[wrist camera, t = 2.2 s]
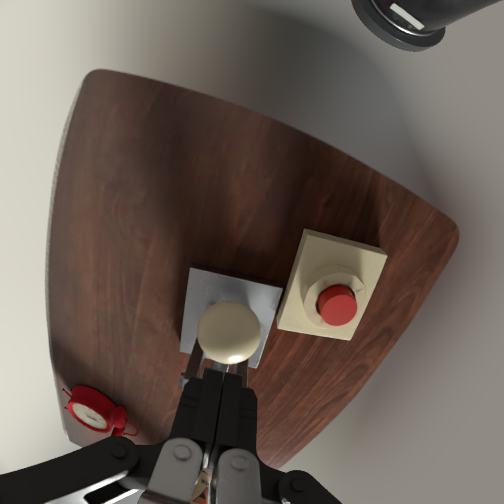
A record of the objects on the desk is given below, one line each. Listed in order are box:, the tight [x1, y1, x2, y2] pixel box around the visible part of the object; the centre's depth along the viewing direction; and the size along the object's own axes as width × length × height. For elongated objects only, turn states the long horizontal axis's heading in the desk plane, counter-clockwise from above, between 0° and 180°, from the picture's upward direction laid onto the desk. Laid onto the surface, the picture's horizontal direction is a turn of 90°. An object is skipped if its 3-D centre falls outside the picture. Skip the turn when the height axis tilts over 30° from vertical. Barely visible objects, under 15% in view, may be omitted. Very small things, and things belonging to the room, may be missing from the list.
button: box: [318, 285, 357, 326], centre depth 26 cm, size 4×4×2 cm
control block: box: [277, 229, 387, 340], centre depth 29 cm, size 11×9×4 cm
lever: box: [197, 300, 261, 383], centre depth 18 cm, size 14×3×3 cm, turn 167°
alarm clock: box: [62, 385, 138, 436], centre depth 40 cm, size 10×6×15 cm
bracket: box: [179, 264, 283, 391], centre depth 27 cm, size 12×10×13 cm
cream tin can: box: [191, 471, 209, 504], centre depth 44 cm, size 9×9×12 cm
